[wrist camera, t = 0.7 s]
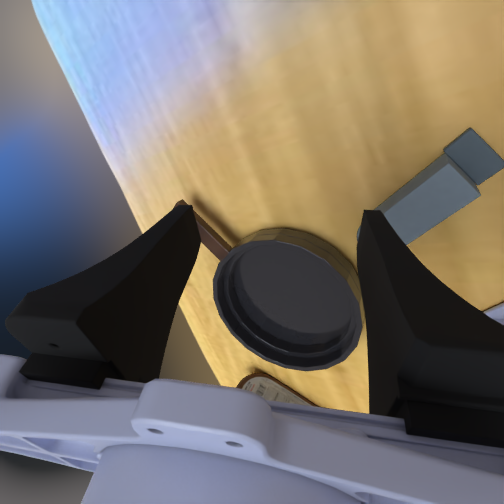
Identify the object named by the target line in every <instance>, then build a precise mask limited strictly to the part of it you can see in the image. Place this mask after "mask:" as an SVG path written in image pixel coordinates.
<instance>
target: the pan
mask: <svg viewBox="0 0 504 504" xmlns="http://www.w3.org/2000/svg"><path fill="white" fill-rule="evenodd" d="M213 296H214V301H215V304H216V307H217V310H218V313H219V315H220V317H221V319H222V320H223V322H224V323H225V325H226V326H227V328H228V329H229V331H230V332H231V334H232V335H233V336H234V337H235V338H236V339H237V340H238V341H239V342H240V343H241V344H242V345H243V346H245V347H246V348H247V349H248V350H250V351H251V352H253V353H254V354H256V355H258V356H259V357H261V358H262V359H264V360H266V361H268V362H271V363H273V364H276V365H279V366H281V367H284V368H288V369H294V370H301V371H313V370H322V369H328V368H330V367H332V366H334V365H336V364H338V363H340V362H342V361H344V360H345V359H346V358H347V357H348V356H349V355H350V354H351V353H352V351H353V350H354V349H355V348H356V347H357V345H358V342H359V338H360V335H361V331H362V327H363V323H364V319H365V311H364V305H363V300H362V294H361V288H360V282H359V277H358V275H357V273H356V272H355V270H354V268H353V266H352V265H351V264H350V263H349V262H348V261H347V260H346V259H345V258H344V257H343V256H342V255H341V254H340V253H339V252H338V251H337V250H336V249H335V248H334V247H333V246H331V245H329V244H328V243H326V242H324V241H322V240H320V239H318V238H317V237H315V236H313V235H311V234H309V233H304V232H300V231H296V230H291V229H287V228H279V229H267V230H260V231H258V232H256V233H254V234H252V235H249V236H247V237H245V238H243V239H242V240H241V241H240V242H239V243H238V244H237V245H236V246H235V247H234V248H232V249H231V250H230V251H229V253H228V255H227V256H226V257H225V258H224V259H223V260H222V261H220V262H219V264H218V267H217V270H216V272H215V275H214V278H213Z"/></svg>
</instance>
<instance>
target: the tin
mask: <svg viewBox="0 0 504 504" xmlns="http://www.w3.org/2000/svg"><path fill="white" fill-rule="evenodd" d="M236 388H239V389H243V390H247V391H252V392H254V393H256V394H258V395H260V396H262V397H264V399H265V400H271V401H278V402H285V403H293V404H300V405H307V406H315V407H317V406H316V405H314V404H313V403H311V402H310V401H308V400H307V399H305V398H304V397H302V396H301V395H299V394H297V393H296V392H294V391H293V390H291V389H290V388H288V387H287V386H285V385H284V384H282V383H281V382H279V381H278V380H276V379H274V378H273V377H271V376H269V375H266V374H262V373H255V374H250V375H248V376H246V377H245V378H243V379H242V380H241V381H240V382H239V384H238V385H237V387H236Z"/></svg>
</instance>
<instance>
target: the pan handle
mask: <svg viewBox="0 0 504 504" xmlns="http://www.w3.org/2000/svg"><path fill="white" fill-rule="evenodd" d="M178 205H188V204H187V203H186V202H185V201H184V200H183V199H182V200H180V201H178V202H177V203H176V205H175V206H174V208H175V207H177V206H178ZM174 208H173V209H174ZM193 211H194V210H193ZM194 214H195V218H196V222H197V226H198V229H199V233H200V237H201V242H202V243H203V244H204V245H205V246H206V247H207V248H208V249H209V250H210V251H211V252H212V253H213V254H214V255H215V256H216V257H217V258H218V259H219V260H220V261H222V260H223V259H224V258H225V257H226V256H227V255H228V253H229V251H230V250H231V249H232V247H231V246H230V245H229V244H228V243H227V242H226V241H225V240H224V239H223V238H222V237H221V236H220V235H219V234H218V233H216V232H215V231H214V230H213V229H212V228H211V227H210V226H209V225H208V224H207V223H206V222H205V221H204V220H203V219H202V218H201V217H200V216H199V215H198V214H197V213H196V212H195V211H194Z"/></svg>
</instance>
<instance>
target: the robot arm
mask: <svg viewBox="0 0 504 504" xmlns="http://www.w3.org/2000/svg"><path fill="white" fill-rule="evenodd" d="M200 244H201V237H200V233H199V229H198V226H197V222H196V218H195V214H194V211H193V207H192V205H178V206H177V207H175V208H174V209H173V210H172V211H170V212H169V213H168V214H167V215H166V216H164V217H163V218H162V219H161V220H160V221H158V222H157V223H156V224H155V225H153V226H152V227H151V228H150V229H149V230H147V231H146V232H145V233H143V234H142V235H141V236H139V238H137V239H135V240H134V241H133V242H132V243H130V244H129V245H128V246H126V247H124V248H123V249H121V250H120V251H118V252H117V253H115V254H113V255H112V256H110V257H109V258H107V259H105V260H103V261H102V262H100V263H98V264H96V265H94V266H92V267H90V268H88V269H86V270H84V271H82V272H80V273H78V274H76V275H74V276H71V277H69V278H67V279H64V280H62V281H59V282H57V283H55V284H52V285H49V286H46V287H44V288H41V289H38V290H36V291H33V292H30V293H27V295H26V296H25V297H24V298H23V300H22V301H21V302H20V303H19V304H18V306H17V307H16V308H15V309H14V310H13V311H12V313H11V314H10V315H9V316H8V317H7V319H6V320H5V325H6V328H7V329H8V331H9V332H10V333H11V334H12V335H13V336H14V337H15V338H16V339H17V340H18V341H19V342H20V343H22V344H23V345H24V346H25V347H26V348H27V349H29V350H30V351H31V352H32V354H31V355H30V357H29V358H28V360H26V359H23V358H20V357H17V356H9V355H2V354H0V450H2V451H7V452H12V453H17V454H21V455H25V456H30V457H34V458H38V459H42V460H46V461H51V462H55V463H59V464H63V465H67V466H71V467H75V468H79V469H83V470H87V471H91V472H94V475H93V477H92V479H91V481H90V484H89V486H88V488H87V490H86V493H85V495H84V497H83V500H82V502H81V504H504V303H502V304H500V305H497V306H495V307H493V308H491V309H488V310H486V311H484V312H481V311H480V310H478V309H477V308H475V307H474V306H472V305H471V304H470V303H468V302H467V301H465V300H464V299H463V298H461V297H460V296H459V295H457V294H456V293H455V292H454V291H452V290H451V289H450V288H448V287H447V286H446V285H445V284H444V283H442V282H441V281H440V280H439V279H438V278H437V277H436V276H435V275H433V274H432V273H431V272H430V271H429V270H428V269H427V268H426V267H425V266H424V265H423V264H422V263H421V262H420V261H419V260H418V259H417V257H416V256H415V255H414V254H413V253H412V252H411V251H410V249H409V248H408V247H407V246H406V245H405V243H404V242H403V241H402V239H401V238H400V237H399V236H398V234H397V233H396V232H395V230H394V229H393V227H392V226H391V225H390V223H389V222H388V220H387V219H386V217H385V216H384V214H383V213H382V212H381V211H380V210H364V213H363V218H362V223H361V228H360V233H359V238H358V243H357V269H358V276H359V282H360V288H361V294H362V300H363V305H364V311H365V318H366V329H367V347H368V371H369V414H366V413H358V412H351V411H344V410H336V409H329V408H322V407H315V406H307V405H300V404H293V403H285V402H278V401H271V400H265V399H264V397H262V396H260V395H258V394H256V393H254V392H252V391H247V390H243V389H239V388H234V387H226V386H219V385H211V384H202V383H195V382H188V381H181V380H172V379H159V375H160V370H161V365H162V360H163V357H164V352H165V348H166V344H167V340H168V336H169V333H170V329H171V325H172V321H173V318H174V315H175V312H176V308H177V305H178V303H179V300H180V297H181V295H182V293H183V290H184V288H185V286H186V283H187V281H188V279H189V276H190V274H191V271H192V269H193V267H194V264H195V262H196V259H197V255H198V252H199V248H200Z"/></svg>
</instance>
